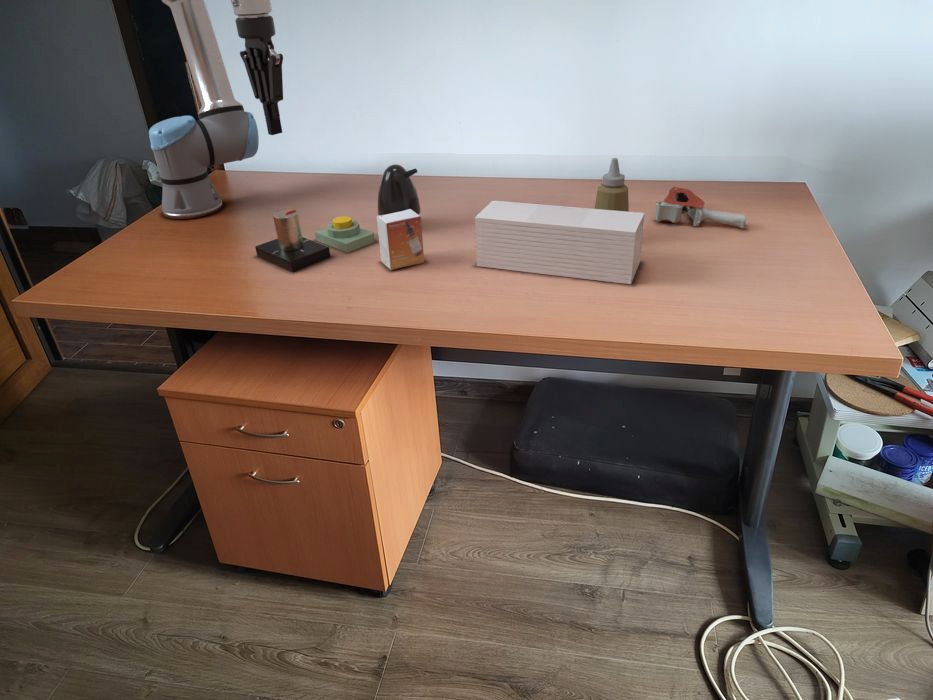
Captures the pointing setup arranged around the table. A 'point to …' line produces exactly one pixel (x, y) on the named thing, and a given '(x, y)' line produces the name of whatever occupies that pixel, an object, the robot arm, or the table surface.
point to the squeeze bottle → (613, 190)
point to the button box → (345, 237)
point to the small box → (400, 239)
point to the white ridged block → (560, 240)
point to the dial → (288, 230)
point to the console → (293, 254)
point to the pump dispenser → (397, 191)
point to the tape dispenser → (692, 209)
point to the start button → (342, 222)
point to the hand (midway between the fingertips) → (275, 133)
